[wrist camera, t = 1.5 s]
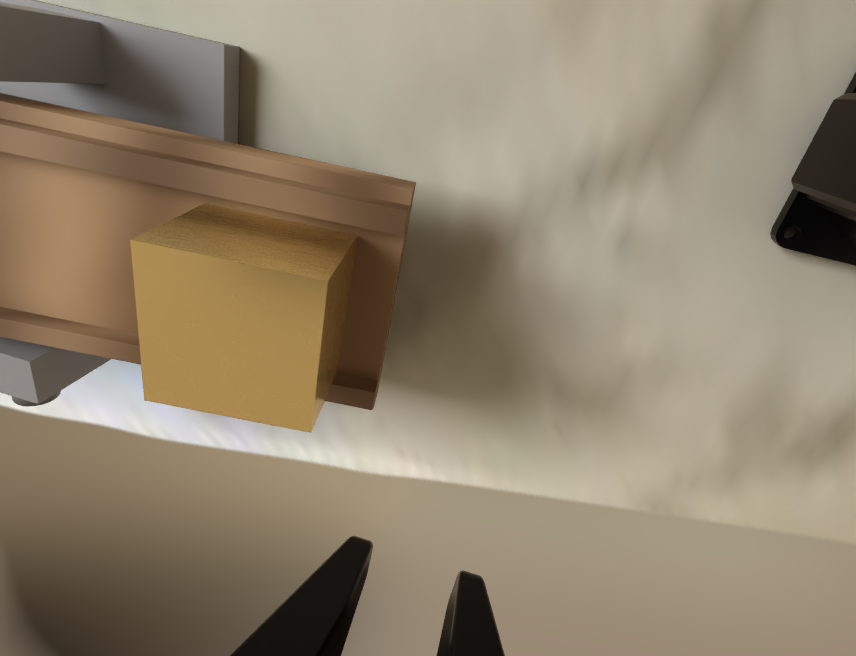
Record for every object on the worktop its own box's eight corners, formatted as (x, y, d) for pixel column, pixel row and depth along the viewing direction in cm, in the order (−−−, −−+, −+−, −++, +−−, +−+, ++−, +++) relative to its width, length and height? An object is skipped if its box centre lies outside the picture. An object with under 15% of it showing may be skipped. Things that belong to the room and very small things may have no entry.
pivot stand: (240, 34, 18) (111, 9, 12) (234, 373, 24) (150, 450, 19) (-51, -32, 19) (-284, -81, 13) (21, 310, 26) (-115, 367, 20)
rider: (357, 235, 16) (328, 280, 12) (340, 363, 18) (310, 432, 15) (204, 203, 16) (129, 240, 12) (206, 336, 18) (144, 399, 14)
